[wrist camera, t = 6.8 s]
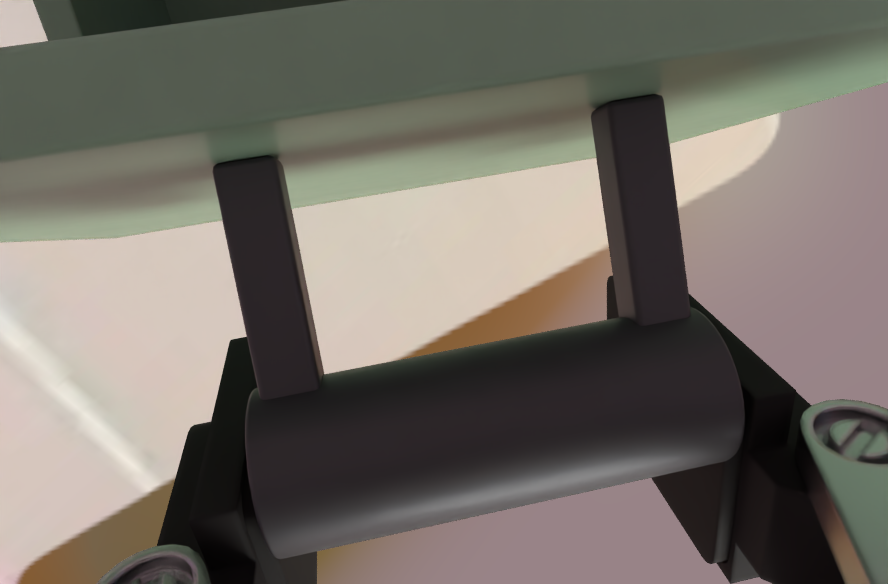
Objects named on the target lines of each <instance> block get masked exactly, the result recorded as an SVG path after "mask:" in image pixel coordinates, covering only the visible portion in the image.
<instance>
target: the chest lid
mask: <svg viewBox="0 0 888 584" xmlns="http://www.w3.org/2000/svg"><path fill="white" fill-rule="evenodd" d="M887 82H888V0H346V1H339V2H331V3H324V4H317V5H309V6H302V7H295V8H287V9H280V10H273V11H265V12H258V13H251V14H243V15H236V16H229V17H221V18H214V19H207V20H199V21H192V22H185V23H178V24H170V25H163V26H156V27H148V28H141V29H134V30H126V31H119V32H112V33H104V34H97V35H90V36H82V37H75V38H68V39H60V40H53V41H46V42H38V43H31V44H24V45H16V46H9V47H2V48H0V242H23V241H50V240H77V239H104V238H119V237H125V236H131V235H137V234H143V233H149V232H155V231H161V230H167V229H173V228H179V227H185V226H191V225H197V224H203V223H209V222H215V221H221V220H223V225H224V230H225V235H226V239H227V244H228V249H229V254H230V258H231V263H232V268H233V273H234V277H235V282H236V287H237V292H238V296H239V301H240V306H241V311H242V316H243V320H244V325H245V330H246V335H247V339H248V344H249V349H250V354H251V358H252V363H253V368H254V373H255V377H256V382H257V387H258V388H256V389H254V390H253V391H252V392H251V394H250V396H249V400H248V404H247V410H246V420H245V447H246V460H247V470H248V478H249V485H250V491H251V496H252V501H253V506H254V510H255V515H256V518H257V522H258V525H259V528H260V532H261V534H262V537H263V539H264V542H265V544H266V546H267V548H268V550H269V551H270V553H271V554H272V555H273V556H274V557H275V558H278V559H284V558H289V557H293V556H298V555H302V554H307V553H311V552H316V551H320V550H325V549H329V548H334V547H339V546H343V545H347V544H352V543H356V542H361V541H366V540H370V539H375V538H379V537H384V536H388V535H393V534H398V533H402V532H406V531H411V530H415V529H420V528H425V527H429V526H434V525H438V524H443V523H447V522H452V521H457V520H461V519H466V518H470V517H475V516H479V515H483V514H488V513H493V512H497V511H502V510H507V509H511V508H516V507H520V506H525V505H529V504H533V503H538V502H543V501H547V500H552V499H556V498H561V497H565V496H570V495H575V494H579V493H583V492H588V491H593V490H597V489H601V488H606V487H611V486H615V485H620V484H624V483H629V482H633V481H638V480H643V479H647V478H652V477H656V476H661V475H665V474H670V473H675V472H679V471H684V470H688V469H693V468H697V467H702V466H706V465H711V464H715V463H720V462H724V461H727V460H729V459H730V458H732V457H733V456H734V455H735V454H736V453H737V451H738V449H739V448H740V445H741V442H742V439H743V434H744V426H745V410H744V400H743V394H742V389H741V384H740V380H739V376H738V373H737V370H736V367H735V364H734V361H733V359H732V356H731V354H730V352H729V350H728V347H727V346H726V344H725V342H724V340H723V338H722V337H721V335H720V333H719V332H718V330H717V329H716V328H715V326H714V325H713V324H712V322H711V321H710V320H709V319H708V318H707V317H706V316H705V315H704V314H702V313H701V312H700V311H698V310H696V309H694V308H692V307H690V302H689V294H688V287H687V279H686V271H685V264H684V255H683V247H682V240H681V232H680V224H679V216H678V208H677V200H676V192H675V185H674V177H673V169H672V161H671V153H670V145H669V144H670V143H674V142H677V141H681V140H684V139H688V138H691V137H695V136H699V135H702V134H706V133H709V132H713V131H716V130H720V129H723V128H727V127H731V126H734V125H738V124H741V123H745V122H748V121H752V120H755V119H759V118H763V117H766V116H770V115H773V114H777V113H780V112H784V111H787V110H791V109H794V108H798V107H802V106H805V105H809V104H812V103H816V102H819V101H823V100H826V99H830V98H834V97H837V96H840V95H844V94H848V93H851V92H855V91H858V90H862V89H866V88H869V87H872V86H876V85H880V84H883V83H887ZM592 158H597V165H598V172H599V179H600V186H601V193H602V201H603V208H604V215H605V222H606V229H607V236H608V243H609V250H610V257H611V264H612V272H613V279H614V286H615V293H616V300H617V307H618V314H619V318H614V319H609V320H604V321H599V322H593V323H588V324H584V325H578V326H573V327H568V328H562V329H557V330H552V331H547V332H542V333H537V334H531V335H526V336H521V337H516V338H511V339H506V340H501V341H495V342H490V343H485V344H480V345H474V346H469V347H464V348H459V349H454V350H449V351H443V352H438V353H433V354H429V355H423V356H418V357H413V358H407V359H402V360H397V361H392V362H387V363H381V364H376V365H371V366H366V367H361V368H356V369H350V370H345V371H340V372H335V373H330V374H325V375H324V371H323V366H322V361H321V356H320V351H319V346H318V341H317V335H316V330H315V325H314V320H313V315H312V310H311V305H310V300H309V295H308V290H307V285H306V280H305V275H304V270H303V264H302V259H301V254H300V249H299V244H298V239H297V234H296V229H295V224H294V219H293V214H292V209H293V208H299V207H305V206H311V205H317V204H323V203H329V202H335V201H341V200H347V199H353V198H359V197H365V196H371V195H377V194H383V193H388V192H394V191H400V190H406V189H412V188H418V187H424V186H430V185H436V184H442V183H448V182H454V181H460V180H466V179H472V178H478V177H484V176H490V175H496V174H502V173H508V172H514V171H520V170H526V169H532V168H538V167H544V166H550V165H556V164H562V163H568V162H574V161H580V160H586V159H592Z"/></svg>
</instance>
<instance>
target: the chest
mask: <svg viewBox="0 0 888 584" xmlns="http://www.w3.org/2000/svg"><path fill="white" fill-rule="evenodd" d="M339 1H346V0H33V2H34V4H35V7H36V10H37V12H38V15H39V18H40V20H41V23H42V26H43V28H44V31H45V33H46V36H47V39H48V41H53V40H60V39H68V38H75V37H82V36H90V35H97V34H104V33H112V32H119V31H126V30H134V29H141V28H148V27H156V26H163V25H170V24H178V23H185V22H192V21H199V20H207V19H214V18H221V17H229V16H236V15H243V14H251V13H258V12H265V11H273V10H280V9H287V8H295V7H302V6H309V5H317V4H324V3H331V2H339Z"/></svg>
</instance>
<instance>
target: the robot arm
mask: <svg viewBox="0 0 888 584" xmlns="http://www.w3.org/2000/svg"><path fill="white" fill-rule="evenodd" d="M688 294H689V293H688ZM689 302H690V307H692V308H694V309H696V310H698V311H700V312H701V313H702V314H704V315H705V316H706V317H707V318H708V319H709V320H710V321H711V322H712V324H713V325H714V326H715V328H716V329H717V330H718V332H719V333H720V335H721V337H722V338H723V340H724V342H725V344H726V346H727V347H728V350H729V352H730V354H731V356H732V359H733V361H734V364H735V367H736V370H737V373H738V376H739V380H740V384H741V389H742V394H743V400H744V410H745V426H744V434H743V439H742V442H741V445H740V448H739V449H738V451H737V453H736V454H735V455H734V456H733V457H732V458H730V459H729V460H727V461H724V462H720V463H715V464H711V465H706V466H702V467H697V468H693V469H688V470H684V471H679V472H675V473H670V474H665V475H661V476H656V477H652V480H653V481H654V483H655V484H656V486H657V487H658V489H659V490H660V492H661V494H662V495H663V497H664V498H665V500H666V501H667V503H668V505H669V506H670V508H671V509H672V511H673V512H674V514H675V515H676V517H677V519H678V520H679V522H680V523H681V525H682V526H683V528H684V529H685V531H686V533H687V534H688V536H689V537H690V539H691V540H692V542H693V543H694V545H695V547H696V548H697V550H698V551H699V553H700V554H701V556H702V557H703V558H704V560H705V561H706V562H707V563H710V564H713V563H717V564H718V566H719V567H720V569H721V570H722V572H723V573H724V575H725V576H726V578H727V579H728V581H729V582H730V584H731V583H735V582H740V581H744V580H748V579H752V578H756V577H760V578H761V579H763V580H766V581H768V582H771V583H772V584H888V409H886V408H883V407H880V406H878V405H874V404H870V403H866V402H862V401H855V400H845V399H840V400H828V401H823V402H820V403H817V404H814V405H812V406H811V405H810V404H809V403H808V402H807V401H806V400H805V399H803V398H802V397H801V396H800V395H799V394H798V393H797V392H796V390H795V389H794V388H793V387H791V386H790V385H789V384H788V383H787V382H786V381H785V380H784V379H783V378H782V377H781V376H779V375H778V374H777V373H776V372H775V371H774V370H773V369H772V368H771V367H769V366H768V365H767V364H766V363H765V362H764V361H763V360H761V359H760V358H759V357H758V356H757V355H756V354H755V353H754V352H753V351H752V350H751V349H749V348H748V347H747V346H746V345H745V344H744V343H743V342H742V341H740V340H739V339H738V338H737V337H736V336H735V335H734V334H733V333H732V332H731V331H730V330H728V329H727V328H726V327H725V326H724V325H723V324H722V323H721V322H720V321H718V320H717V319H716V318H715V317H714V316H713V315H712V314H711V313H710V312H708V311H707V310H706V309H705V308H704V307H703V306H702V305H701V304H700V303H699V302H697V301H696V300H695V299H694V298H693V297H692V296H691V295H690V294H689ZM614 318H619V314H618V307H617V300H616V293H615V286H614V279H613V276H610V277H609V278H608V281H607V320H609V319H614ZM256 388H258V387H257V382H256V377H255V373H254V368H253V363H252V358H251V354H250V349H249V344H248V339H247V337H243V338H238V339H233V340H231V341H230V343H229V347H228V352H227V356H226V360H225V365H224V369H223V373H222V378H221V382H220V386H219V391H218V395H217V399H216V403H215V408H214V412H213V416H212V421H211V422H207V423H202V424H197V425H194V426H192V427H191V428H190V430H189V432H188V435H187V439H186V442H185V446H184V449H183V453H182V457H181V460H180V464H179V468H178V471H177V475H176V479H175V482H174V486H173V489H172V493H171V497H170V500H169V504H168V508H167V511H166V515H165V518H164V522H163V526H162V529H161V533H160V537H159V540H158V544H157V546H155V547H152V548H149V549H147V550H143V551H141V552H138V553H136V554H134V555H132V556H130V557H129V558H127V559H125V560H123V561H122V562H120V563H118V564H117V565H116V566H115V567H114V568H113V569H111V570H110V571H109V572H108V573H106V574H105V575H104V576H103V577H102V578H101V579H100V580H99V581H98V583H97V584H317V551H316V552H311V553H307V554H302V555H298V556H293V557H289V558H284V559H278V558H275V557H274V556H273V555H272V554H271V553H270V551H269V550H268V548H267V546H266V544H265V542H264V539H263V537H262V534H261V532H260V528H259V525H258V522H257V518H256V515H255V510H254V506H253V501H252V496H251V491H250V485H249V478H248V470H247V460H246V447H245V420H246V410H247V404H248V400H249V396H250V394H251V392H252V391H253V390H254V389H256Z"/></svg>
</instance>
